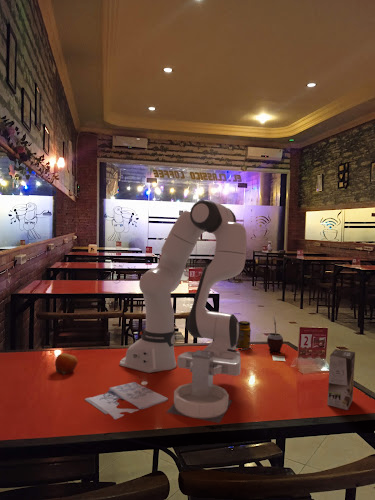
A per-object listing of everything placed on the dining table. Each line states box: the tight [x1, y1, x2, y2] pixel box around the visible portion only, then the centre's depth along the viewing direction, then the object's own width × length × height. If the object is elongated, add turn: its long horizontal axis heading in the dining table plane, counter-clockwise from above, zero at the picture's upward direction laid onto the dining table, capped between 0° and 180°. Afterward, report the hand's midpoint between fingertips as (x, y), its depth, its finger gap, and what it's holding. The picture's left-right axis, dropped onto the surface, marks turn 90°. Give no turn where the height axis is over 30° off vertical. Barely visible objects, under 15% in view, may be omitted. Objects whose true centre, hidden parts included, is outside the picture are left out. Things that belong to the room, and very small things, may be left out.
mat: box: [166, 399, 233, 424], centre depth 118 cm, size 16×16×1 cm
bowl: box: [173, 382, 230, 420], centre depth 118 cm, size 16×16×4 cm
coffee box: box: [326, 348, 356, 411], centre depth 125 cm, size 9×6×16 cm
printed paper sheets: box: [84, 381, 169, 420], centre depth 121 cm, size 19×20×2 cm
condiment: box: [235, 320, 252, 351], centre depth 183 cm, size 7×8×12 cm
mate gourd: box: [266, 316, 284, 355], centre depth 178 cm, size 8×8×15 cm
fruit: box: [54, 352, 79, 376], centre depth 143 cm, size 8×8×8 cm
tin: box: [191, 349, 214, 398], centre depth 117 cm, size 5×5×12 cm
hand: (202, 371), depth 116 cm, fingers closed on tin, 5 cm apart
